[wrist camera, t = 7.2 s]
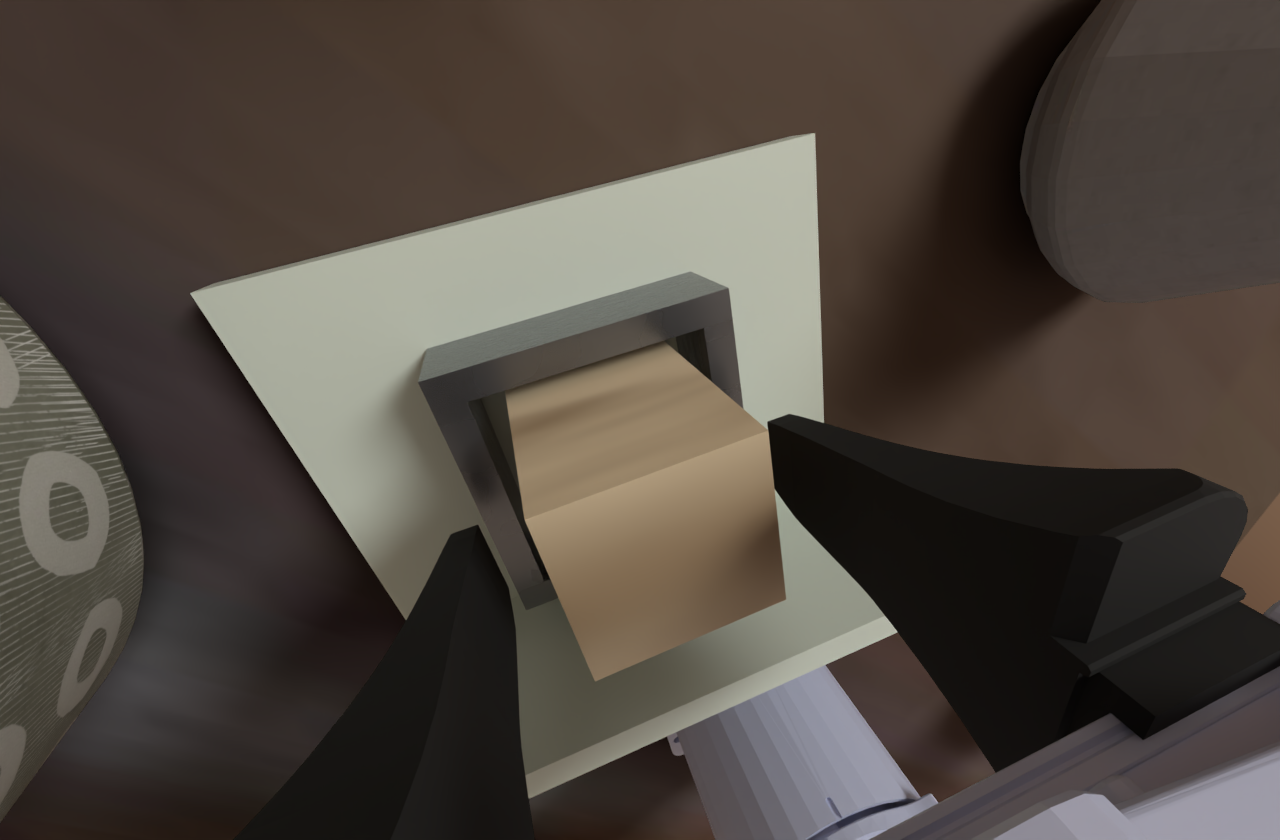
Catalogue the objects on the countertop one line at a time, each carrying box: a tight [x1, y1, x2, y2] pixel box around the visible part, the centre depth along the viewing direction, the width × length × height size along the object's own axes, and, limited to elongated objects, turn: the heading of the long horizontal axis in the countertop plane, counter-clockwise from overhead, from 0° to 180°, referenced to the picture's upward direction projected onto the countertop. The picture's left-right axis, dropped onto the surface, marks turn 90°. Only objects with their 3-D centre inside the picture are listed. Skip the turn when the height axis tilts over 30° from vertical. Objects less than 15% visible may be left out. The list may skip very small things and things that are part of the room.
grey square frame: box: [418, 271, 744, 610], centre depth 15 cm, size 9×8×2 cm
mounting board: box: [190, 133, 897, 798], centre depth 14 cm, size 13×16×7 cm
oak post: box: [505, 341, 786, 681], centre depth 12 cm, size 4×4×7 cm
